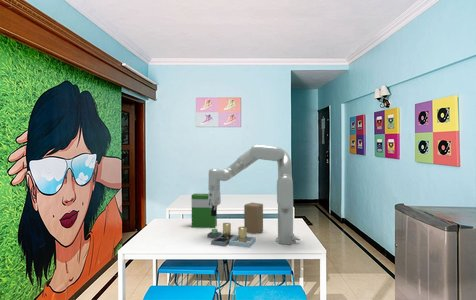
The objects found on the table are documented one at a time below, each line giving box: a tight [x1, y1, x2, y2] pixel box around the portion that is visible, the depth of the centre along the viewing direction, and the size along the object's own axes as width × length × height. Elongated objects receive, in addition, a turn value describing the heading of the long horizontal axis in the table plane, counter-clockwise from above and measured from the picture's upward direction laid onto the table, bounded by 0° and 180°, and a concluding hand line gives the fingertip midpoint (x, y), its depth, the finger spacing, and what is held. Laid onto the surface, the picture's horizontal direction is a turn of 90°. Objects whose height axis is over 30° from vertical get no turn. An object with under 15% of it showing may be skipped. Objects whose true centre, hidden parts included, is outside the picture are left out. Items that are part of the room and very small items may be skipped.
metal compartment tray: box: [210, 233, 237, 247], centre depth 193 cm, size 18×10×3 cm, turn 159°
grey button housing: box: [206, 231, 223, 239], centre depth 203 cm, size 7×7×3 cm
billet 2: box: [237, 226, 248, 243], centre depth 189 cm, size 5×5×10 cm
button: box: [211, 228, 219, 235], centre depth 203 cm, size 4×4×3 cm
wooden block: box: [243, 202, 264, 235], centre depth 215 cm, size 10×10×20 cm
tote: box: [228, 234, 257, 248], centre depth 189 cm, size 13×13×4 cm
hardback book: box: [191, 193, 218, 229], centre depth 232 cm, size 18×7×24 cm, turn 85°
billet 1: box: [222, 222, 232, 238], centre depth 196 cm, size 5×5×10 cm
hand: (213, 215), depth 203 cm, fingers closed
